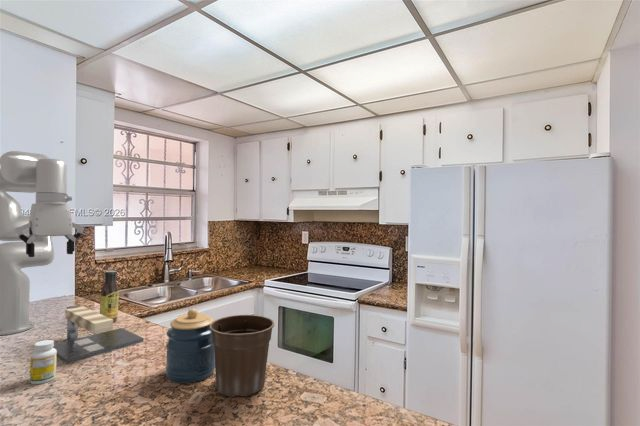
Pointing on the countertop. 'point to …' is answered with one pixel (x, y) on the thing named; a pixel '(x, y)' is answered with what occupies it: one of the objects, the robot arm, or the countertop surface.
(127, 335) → the label board
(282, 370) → the countertop surface
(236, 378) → the plant pot
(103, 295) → the bottle
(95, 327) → the swing arm
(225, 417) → the countertop surface
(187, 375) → the canister
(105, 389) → the countertop surface
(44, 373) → the supplement bottle
